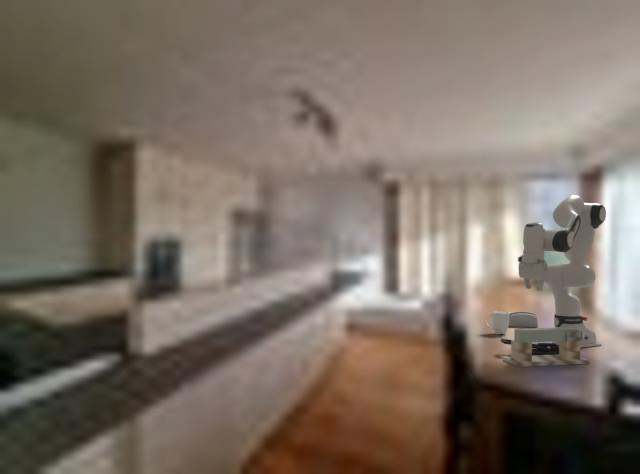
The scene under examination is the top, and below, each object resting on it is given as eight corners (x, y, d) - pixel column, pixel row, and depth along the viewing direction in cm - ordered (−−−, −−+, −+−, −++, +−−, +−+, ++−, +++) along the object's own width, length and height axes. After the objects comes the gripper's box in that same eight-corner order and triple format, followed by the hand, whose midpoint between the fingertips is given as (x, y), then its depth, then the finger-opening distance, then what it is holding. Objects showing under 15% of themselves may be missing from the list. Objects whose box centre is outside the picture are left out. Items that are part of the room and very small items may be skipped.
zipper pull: (499, 337, 261) (556, 338, 258) (499, 352, 261) (556, 353, 258) (503, 341, 252) (562, 342, 249) (503, 356, 252) (562, 357, 249)
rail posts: (572, 357, 250) (572, 327, 250) (589, 363, 238) (589, 332, 238) (503, 360, 245) (503, 330, 245) (517, 366, 233) (517, 335, 233)
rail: (570, 338, 245) (571, 327, 245) (576, 340, 241) (576, 328, 241) (514, 340, 241) (514, 329, 241) (519, 342, 237) (519, 330, 237)
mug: (509, 333, 308) (509, 311, 308) (508, 336, 300) (508, 313, 300) (487, 331, 313) (487, 310, 312) (485, 335, 304) (485, 312, 304)
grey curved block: (537, 325, 331) (538, 310, 328) (538, 329, 327) (539, 314, 324) (507, 324, 335) (507, 309, 332) (507, 328, 331) (508, 313, 328)
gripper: (553, 259, 246) (553, 291, 246) (528, 257, 266) (528, 287, 267) (539, 260, 245) (539, 292, 245) (516, 257, 265) (516, 287, 266)
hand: (533, 289), depth 256 cm, fingers open, 8 cm apart
